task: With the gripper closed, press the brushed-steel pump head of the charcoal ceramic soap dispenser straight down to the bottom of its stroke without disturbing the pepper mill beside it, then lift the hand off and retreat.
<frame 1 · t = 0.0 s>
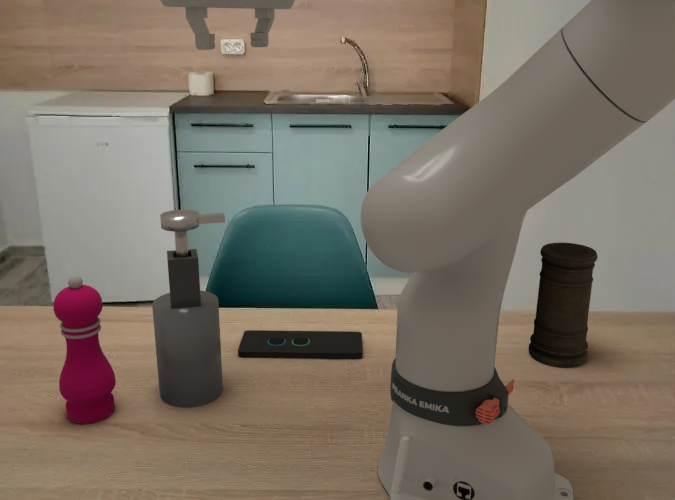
hand: (233, 48, 85), 48 cm above the table, tool pointing down, fingers open, 8 cm apart
container: (556, 356, 112), on the table
pepper mill: (91, 412, 96), on the table
smart home device: (301, 351, 115), on the table
dispenser: (191, 391, 101), on the table
pump head: (194, 244, 94), point 22 cm above the table, slide at 0.0 cm
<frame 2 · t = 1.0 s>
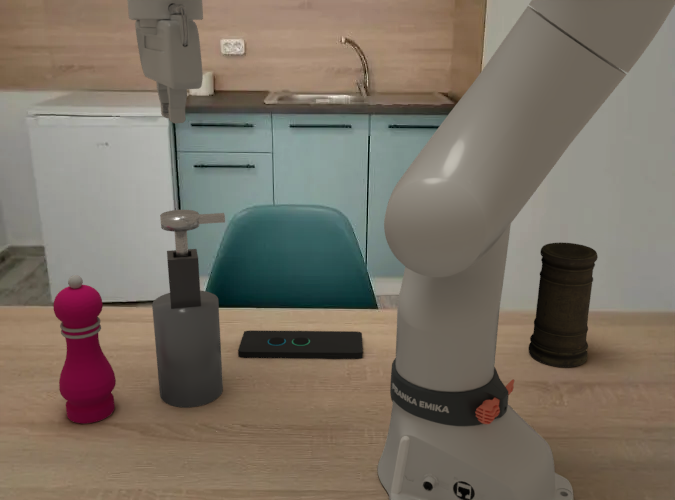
hand: (173, 120, 88), 39 cm above the table, tool pointing down, fingers open, 3 cm apart
nothing on the table moved.
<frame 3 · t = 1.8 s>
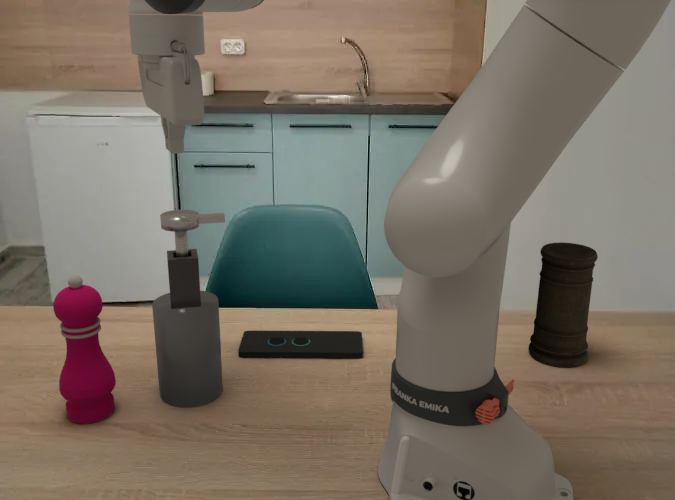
hand: (175, 151, 90), 35 cm above the table, tool pointing down, fingers closed
nothing on the table moved.
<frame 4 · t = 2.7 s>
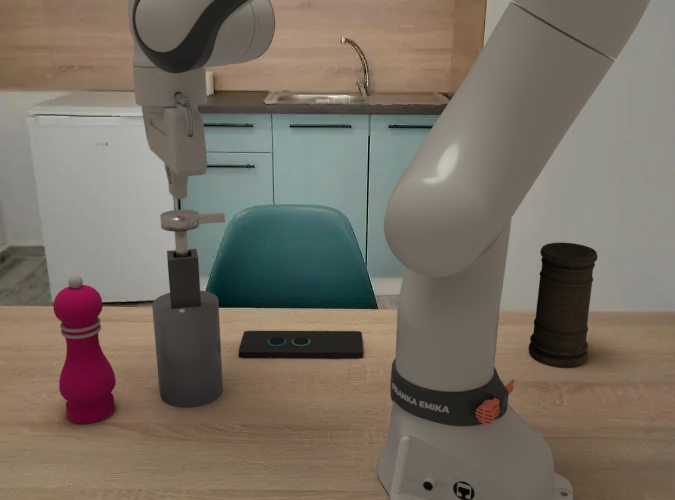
hand: (178, 196, 92), 29 cm above the table, tool pointing down, fingers closed
nothing on the table moved.
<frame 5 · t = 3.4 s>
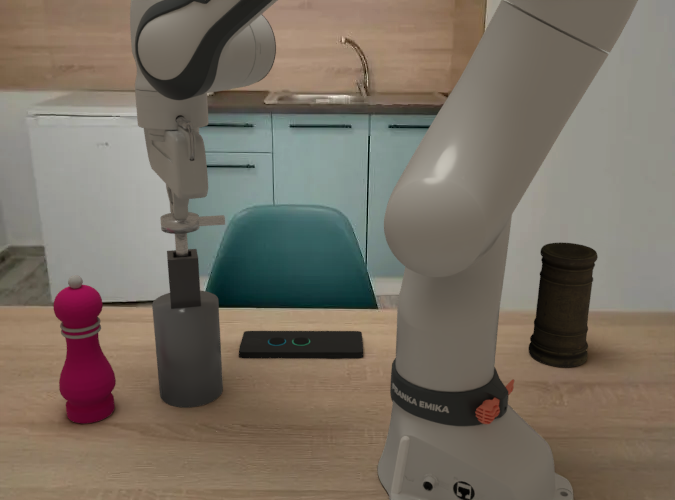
hand: (179, 216, 92), 26 cm above the table, tool pointing down, fingers closed, pressing on pump head
pump head: (194, 246, 94), point 22 cm above the table, slide at 0.3 cm, touching gripper
everything else where it was.
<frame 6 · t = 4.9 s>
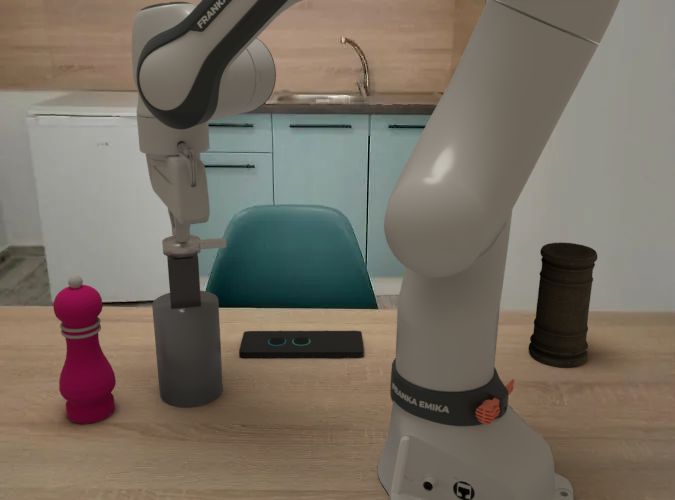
hand: (181, 239, 93), 23 cm above the table, tool pointing down, fingers closed
pump head: (196, 269, 95), point 19 cm above the table, slide at 3.6 cm
everything else where it was.
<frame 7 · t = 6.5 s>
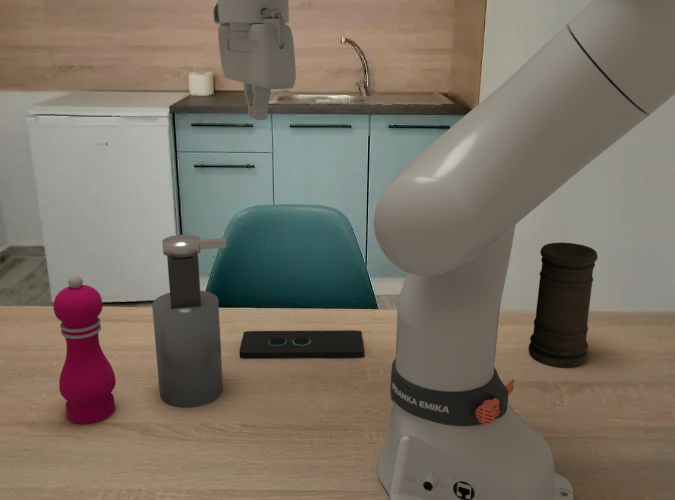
hand: (258, 118, 93), 39 cm above the table, tool pointing down, fingers closed
nothing on the table moved.
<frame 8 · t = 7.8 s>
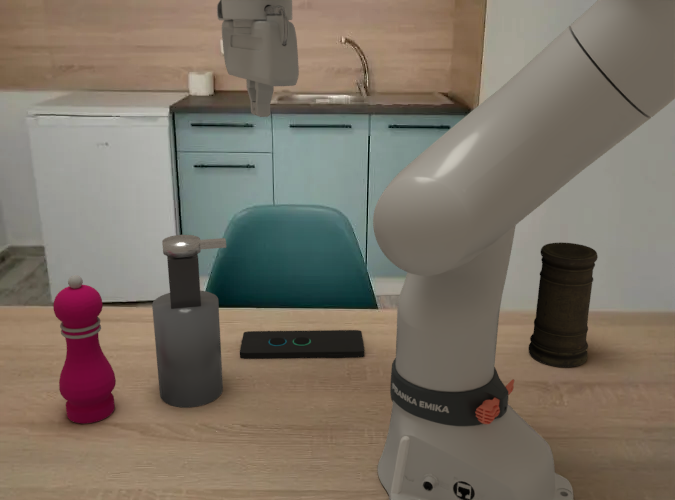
hand: (260, 115, 93), 39 cm above the table, tool pointing down, fingers closed
nothing on the table moved.
at the end: pump head slide at 3.6 cm; pepper mill tilted 0°; pepper mill moved 0.2 cm from its start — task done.
